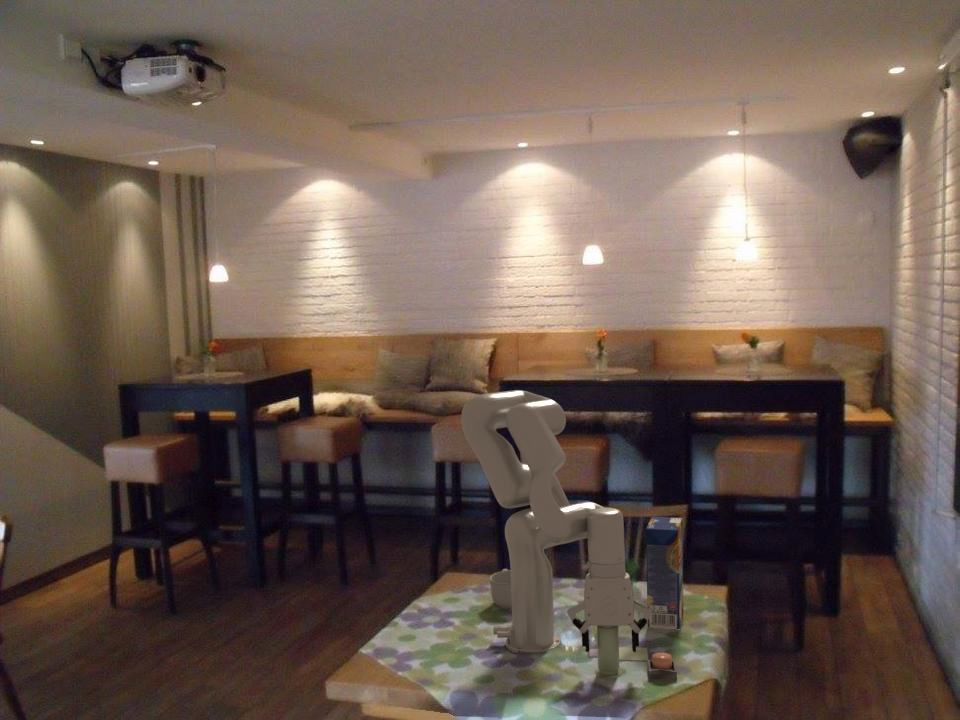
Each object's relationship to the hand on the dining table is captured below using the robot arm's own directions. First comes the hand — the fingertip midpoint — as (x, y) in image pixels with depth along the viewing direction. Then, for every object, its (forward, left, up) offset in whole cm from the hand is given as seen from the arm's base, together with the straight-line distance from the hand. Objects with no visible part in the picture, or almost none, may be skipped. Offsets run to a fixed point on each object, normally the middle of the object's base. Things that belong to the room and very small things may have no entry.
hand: (610, 649), depth 190 cm
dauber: (-1, +1, -5) cm, 5 cm away
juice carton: (+13, +35, -6) cm, 38 cm away
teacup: (-26, +45, -6) cm, 52 cm away
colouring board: (+3, +6, -6) cm, 9 cm away
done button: (+10, +1, -3) cm, 11 cm away
